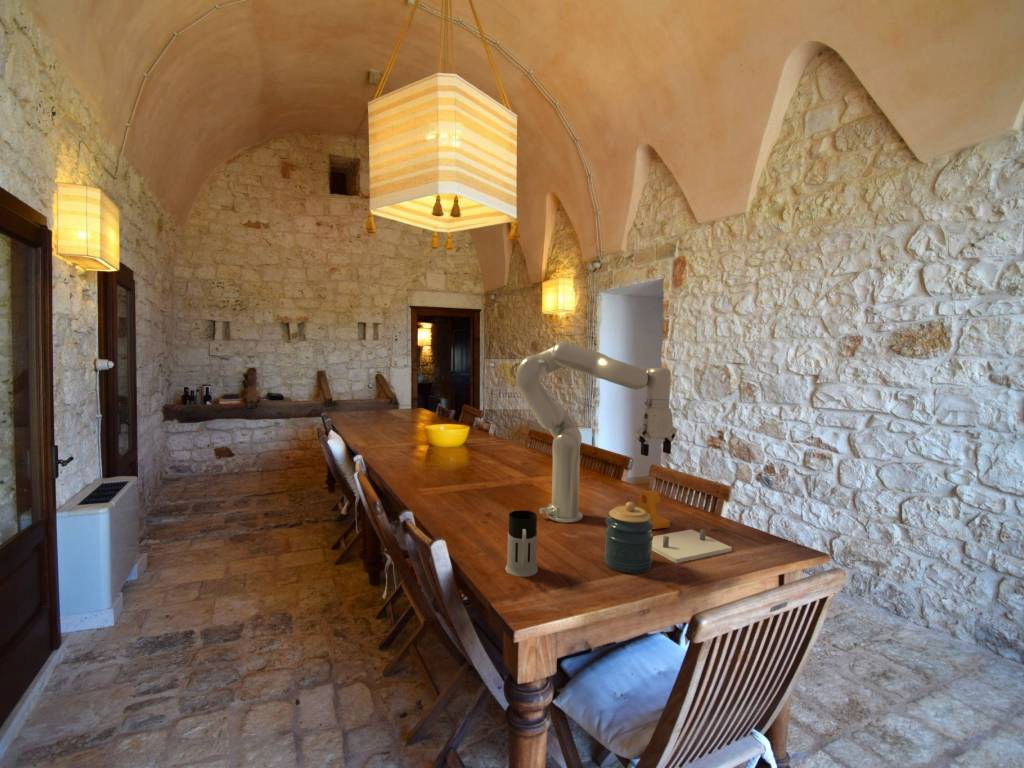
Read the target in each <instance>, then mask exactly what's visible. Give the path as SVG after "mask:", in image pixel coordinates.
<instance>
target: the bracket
mask: <svg viewBox="0 0 1024 768" xmlns="http://www.w3.org/2000/svg"><path fill="white" fill-rule="evenodd" d="M661 502H662V501H661V495H660V493H659V492H658V491H657V490H655V489H654V490H644V491H641V492H640V493H639V496H638V499H637V502H636V505H635V507H639V508H641V509H643V510H645V511H646V512H647V513H648V514H650V516H651V519H650V521H651V522H652V523H653V525H654V527H653V529H652V530H659V529H665V528H666V529H667V528H670V525H671V524H670V523H671V521H670V519H667V518H665V517H663V516H661V515H659V514H658V513H657V507H658V506H660V504H661Z"/></svg>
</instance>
